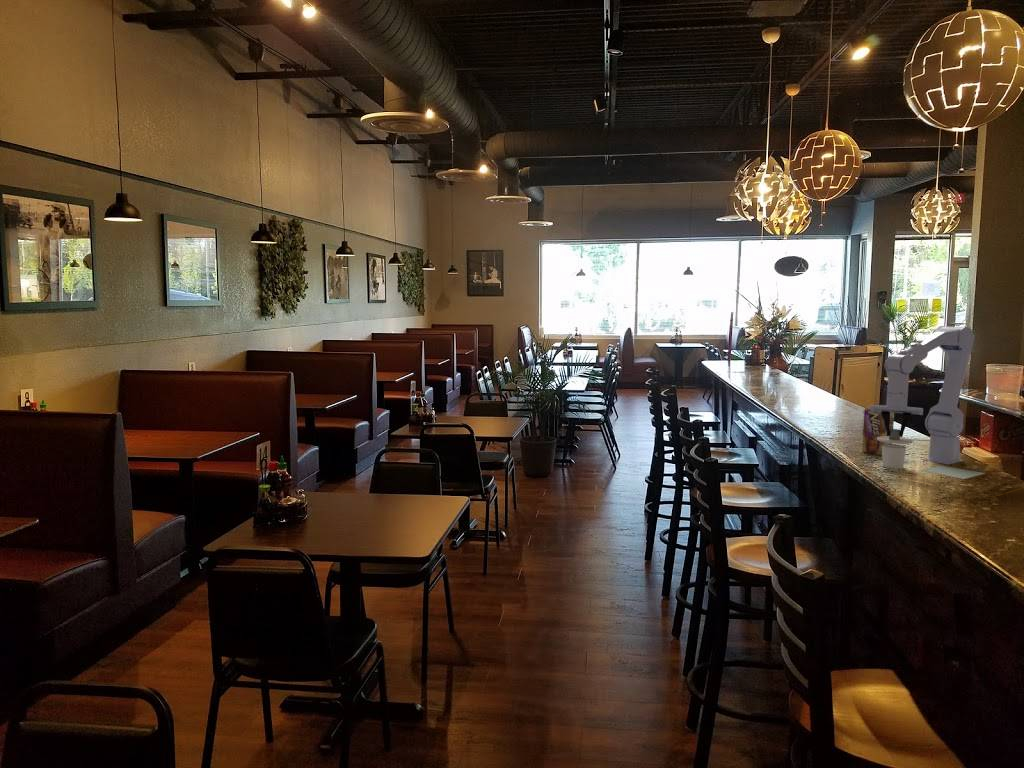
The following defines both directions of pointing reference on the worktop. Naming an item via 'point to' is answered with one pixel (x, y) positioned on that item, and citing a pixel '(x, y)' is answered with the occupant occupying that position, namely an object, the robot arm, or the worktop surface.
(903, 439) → the lid
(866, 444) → the candy box
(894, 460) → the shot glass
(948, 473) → the mat
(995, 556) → the worktop surface
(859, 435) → the worktop surface
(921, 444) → the worktop surface
